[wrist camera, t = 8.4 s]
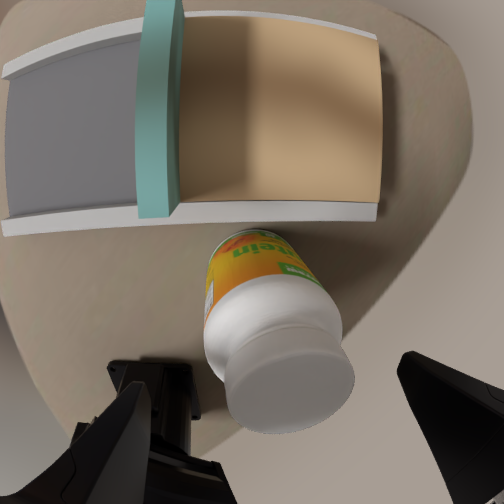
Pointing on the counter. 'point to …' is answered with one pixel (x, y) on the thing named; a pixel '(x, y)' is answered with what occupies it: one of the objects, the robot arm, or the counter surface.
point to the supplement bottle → (273, 336)
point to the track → (108, 140)
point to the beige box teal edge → (254, 111)
